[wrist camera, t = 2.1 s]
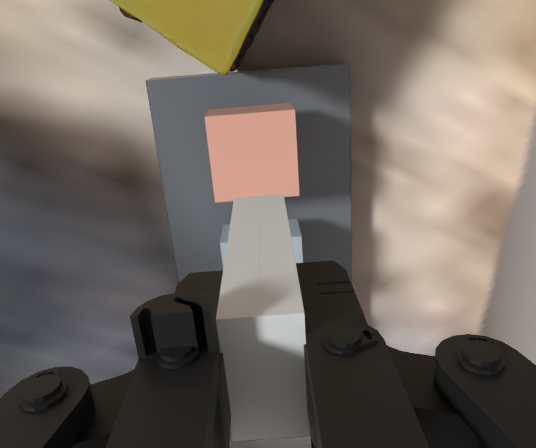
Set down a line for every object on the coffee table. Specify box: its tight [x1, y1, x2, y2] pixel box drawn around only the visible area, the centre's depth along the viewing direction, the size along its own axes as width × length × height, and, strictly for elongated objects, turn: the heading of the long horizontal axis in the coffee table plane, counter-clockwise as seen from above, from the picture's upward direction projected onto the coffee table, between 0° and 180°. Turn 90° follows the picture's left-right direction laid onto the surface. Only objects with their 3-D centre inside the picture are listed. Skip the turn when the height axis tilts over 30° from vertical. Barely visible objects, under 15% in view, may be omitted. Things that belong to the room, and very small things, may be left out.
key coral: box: [205, 103, 299, 203], centre depth 26 cm, size 5×5×5 cm
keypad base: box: [146, 63, 352, 284], centre depth 32 cm, size 12×22×2 cm, turn 4°
